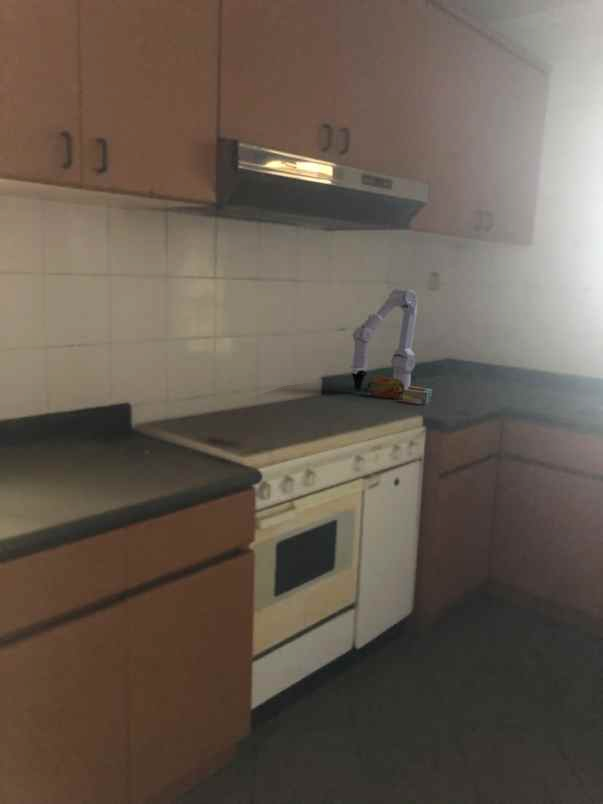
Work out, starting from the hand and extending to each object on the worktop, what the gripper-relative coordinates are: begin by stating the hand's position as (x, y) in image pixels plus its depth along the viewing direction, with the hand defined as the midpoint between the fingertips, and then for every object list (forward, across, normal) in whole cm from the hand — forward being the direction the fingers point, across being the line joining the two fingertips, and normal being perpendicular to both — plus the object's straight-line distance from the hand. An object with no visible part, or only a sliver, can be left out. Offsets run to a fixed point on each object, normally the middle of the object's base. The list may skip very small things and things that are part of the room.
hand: (357, 388), depth 279 cm
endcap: (+2, 0, +25) cm, 25 cm away
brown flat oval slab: (+2, 0, +12) cm, 12 cm away
